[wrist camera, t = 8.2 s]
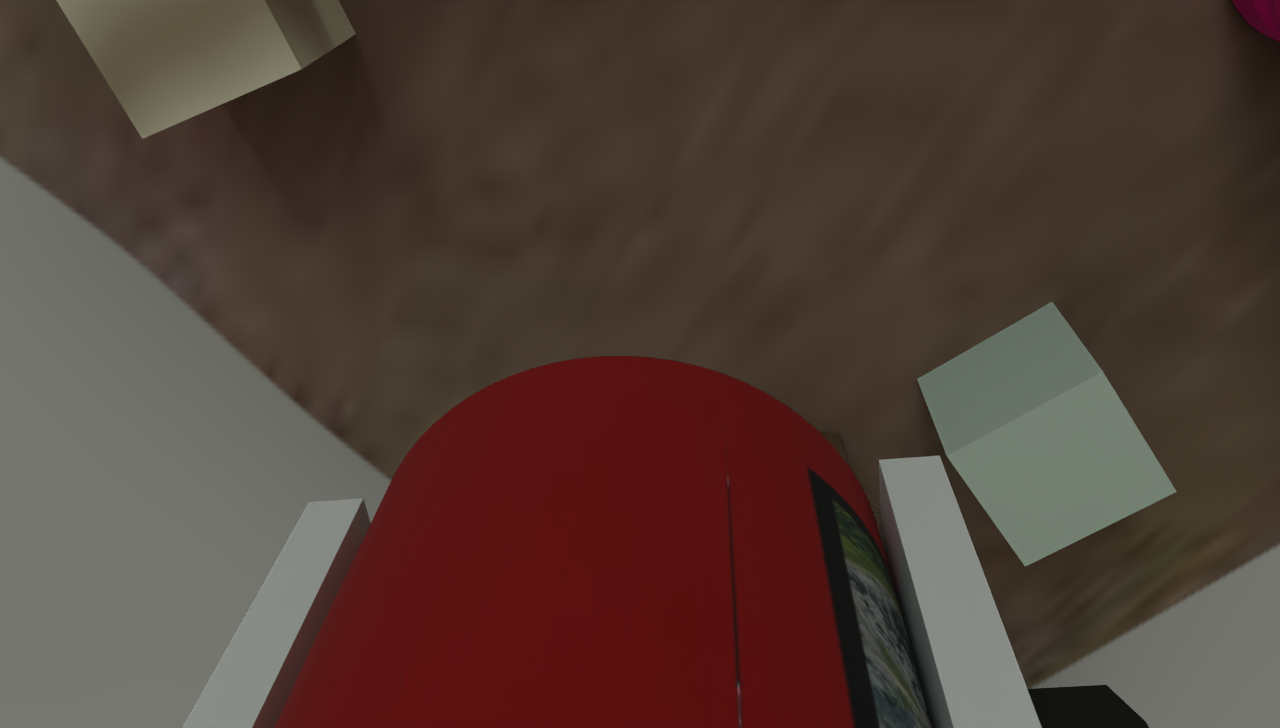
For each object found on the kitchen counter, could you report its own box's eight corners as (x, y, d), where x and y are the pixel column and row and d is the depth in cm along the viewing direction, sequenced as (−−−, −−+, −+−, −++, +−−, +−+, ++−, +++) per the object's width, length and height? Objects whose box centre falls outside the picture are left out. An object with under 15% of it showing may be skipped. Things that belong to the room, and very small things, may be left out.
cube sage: (916, 378, 36) (946, 456, 32) (1051, 300, 35) (1102, 371, 30) (987, 479, 38) (1025, 566, 34) (1118, 409, 37) (1176, 491, 32)
